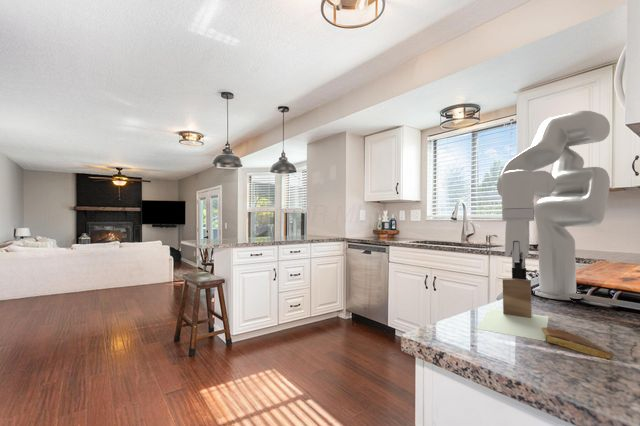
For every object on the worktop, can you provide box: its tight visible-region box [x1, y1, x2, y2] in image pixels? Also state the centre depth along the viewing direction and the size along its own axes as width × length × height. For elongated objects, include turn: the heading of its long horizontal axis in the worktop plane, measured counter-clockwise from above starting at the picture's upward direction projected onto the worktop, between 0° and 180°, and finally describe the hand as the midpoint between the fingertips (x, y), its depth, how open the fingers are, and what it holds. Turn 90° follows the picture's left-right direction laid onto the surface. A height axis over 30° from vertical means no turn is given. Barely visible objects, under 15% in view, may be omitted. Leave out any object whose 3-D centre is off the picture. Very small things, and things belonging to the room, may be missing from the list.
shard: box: [541, 327, 614, 361], centre depth 63 cm, size 11×8×2 cm
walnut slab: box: [502, 277, 533, 318], centre depth 83 cm, size 2×6×9 cm, turn 53°
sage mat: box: [476, 308, 549, 342], centre depth 78 cm, size 19×13×1 cm
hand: (519, 282), depth 89 cm, fingers closed
